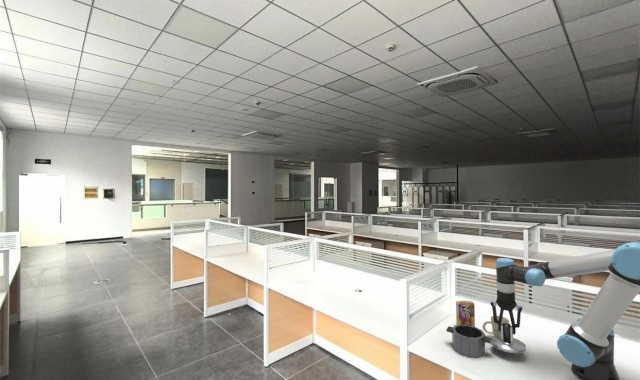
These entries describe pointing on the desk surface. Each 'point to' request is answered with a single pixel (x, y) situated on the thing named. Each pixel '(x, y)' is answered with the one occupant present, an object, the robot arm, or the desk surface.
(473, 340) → the pot
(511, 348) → the lid
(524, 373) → the desk surface
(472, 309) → the candy box
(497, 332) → the mug
